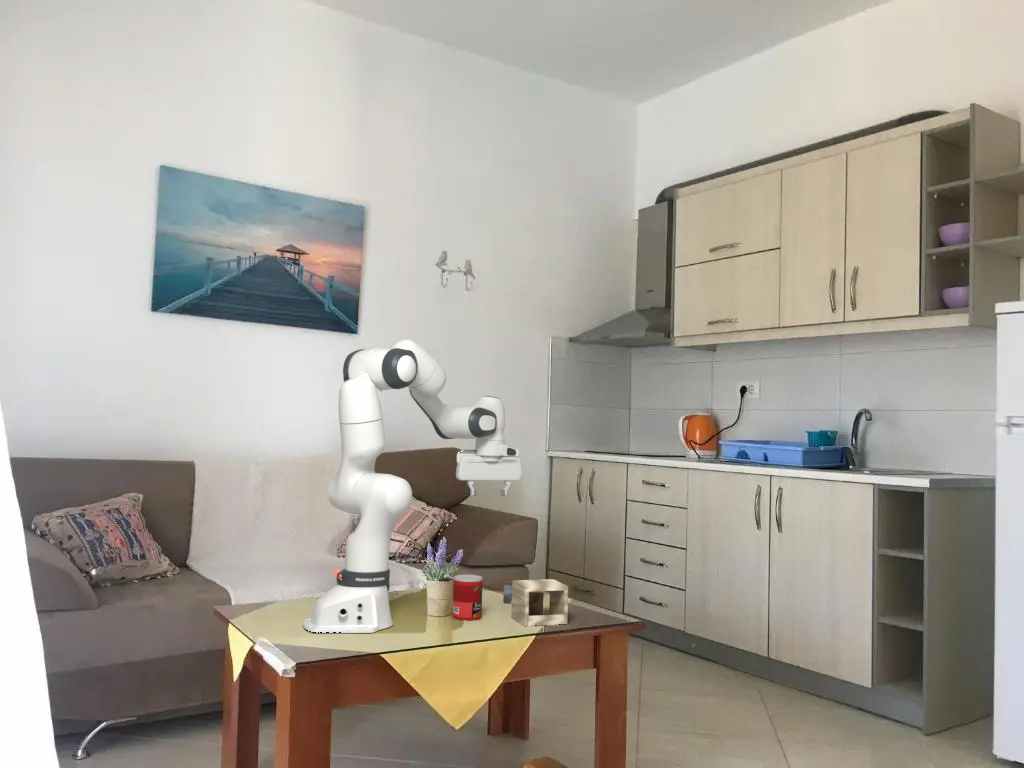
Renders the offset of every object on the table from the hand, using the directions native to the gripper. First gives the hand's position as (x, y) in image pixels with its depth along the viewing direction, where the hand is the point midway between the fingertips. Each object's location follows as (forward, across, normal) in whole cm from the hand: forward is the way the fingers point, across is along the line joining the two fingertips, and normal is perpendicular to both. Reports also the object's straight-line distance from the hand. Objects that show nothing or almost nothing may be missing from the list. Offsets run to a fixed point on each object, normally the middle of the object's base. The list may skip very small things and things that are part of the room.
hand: (488, 495), depth 258 cm
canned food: (+31, -12, -23) cm, 41 cm away
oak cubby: (+31, +6, -30) cm, 44 cm away
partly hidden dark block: (+31, +6, -13) cm, 34 cm away
